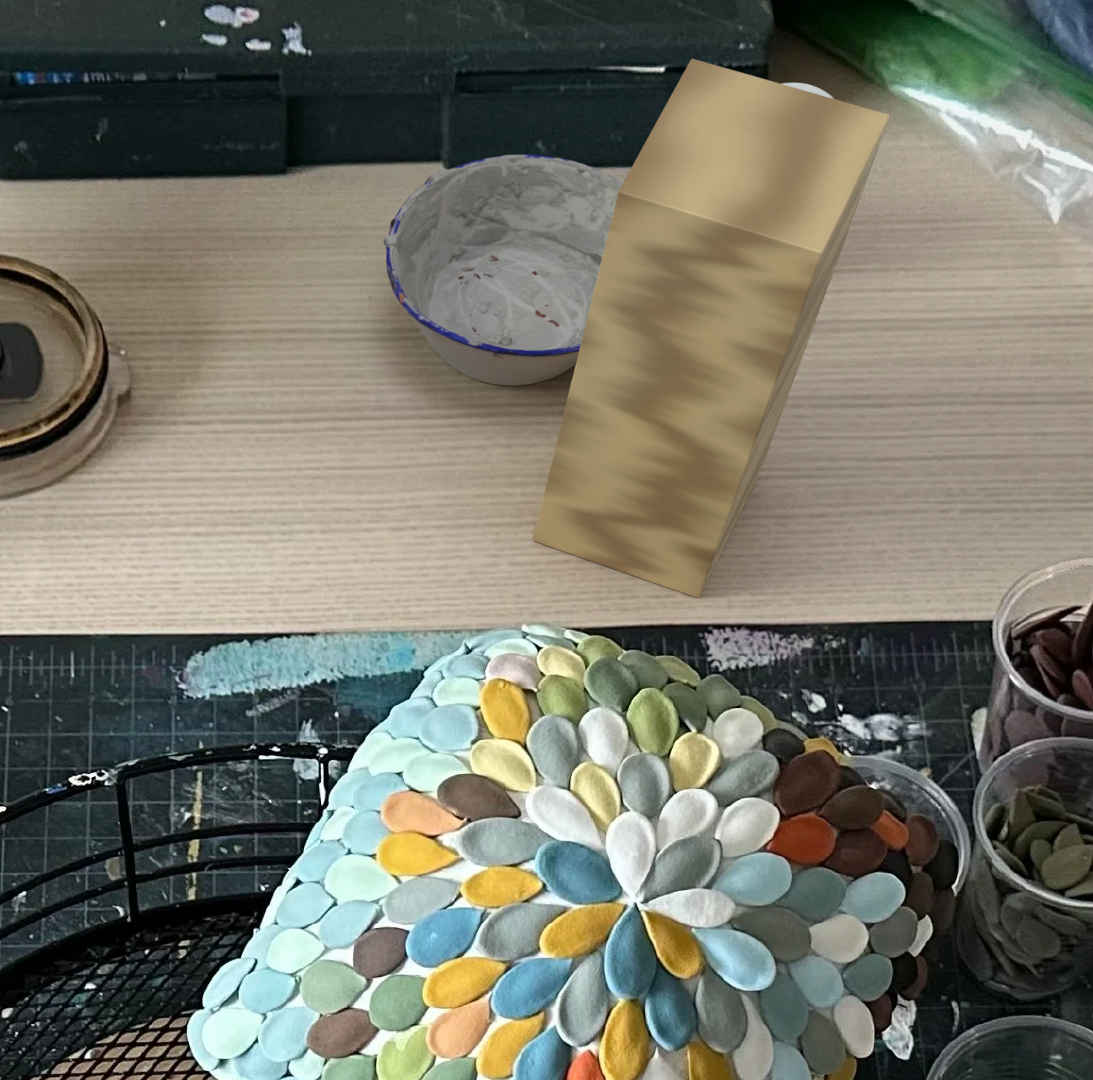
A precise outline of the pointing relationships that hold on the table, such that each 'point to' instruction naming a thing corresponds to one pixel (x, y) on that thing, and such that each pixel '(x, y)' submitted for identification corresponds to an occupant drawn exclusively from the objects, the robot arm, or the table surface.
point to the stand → (702, 319)
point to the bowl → (503, 263)
